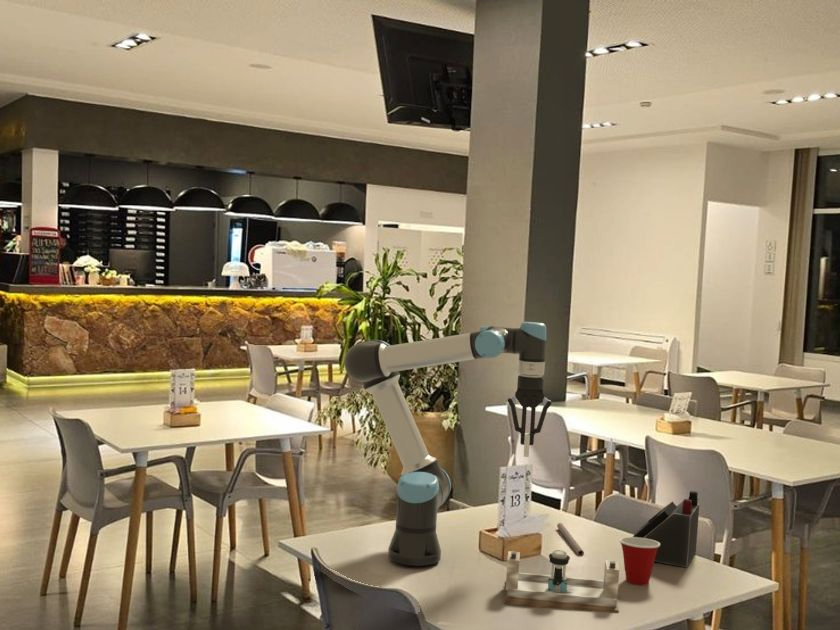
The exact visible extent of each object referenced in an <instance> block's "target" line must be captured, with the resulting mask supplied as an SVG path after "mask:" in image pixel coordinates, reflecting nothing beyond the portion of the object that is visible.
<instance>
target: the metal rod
mask: <svg viewBox="0 0 840 630" xmlns="http://www.w3.org/2000/svg"><path fill="white" fill-rule="evenodd" d="M556 526H557V529H558V530H559V531H560V533H561V534H562V535H563V537H564V538H565V539H566V541H567V542H568V544H569V545H570V547H571V548H572V549H573V551H575V553H576V554H577V556H580V555H581V556H584V555H585V551H584V550H583V548H582V547H581V546H580V545H579V543H578V542H577V541H576V540H575V538H574V537H573V535H572V534H570V532H569V531H568V530H567V528H566V527H565V526H564V524H563V523H562V522H559V523H557V524H556Z"/></svg>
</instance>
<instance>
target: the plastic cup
mask: <svg viewBox="0 0 840 630" xmlns="http://www.w3.org/2000/svg"><path fill="white" fill-rule="evenodd" d="M619 543H620V545H621V549H622V553H623V565H624V567H623V568H624V571H625V580H626V582H627V583H629V584H631V585H637V586H645V585H646V586H647V585H648V584H649V583H650V579H651V576H652V571H653V569H654V563H655V561H654V560H655V556H656V553H657V550H658V548H659V547H660V543H659V542H657V541H654V540H651V539H646V538H639V537H633V536H627V537H626V536H625V537H621V538H619Z"/></svg>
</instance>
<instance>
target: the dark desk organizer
mask: <svg viewBox="0 0 840 630" xmlns="http://www.w3.org/2000/svg"><path fill="white" fill-rule="evenodd" d="M698 493H699V492H697V491H693V490H692V491H691V490H690V491H689V494H688V495H689V496H688V498H687V499H686V498H684V499H683V501H681V502H680V503H679V504H677V505H676V503H674V501H671V502H669V503H668V504H667V505H666V506H664V507H663V508H662V509H661V510H659V511H658V512H657V513H656V514H655V515H654V516H652V517H651V518H649V520H647V522H645V524H643V525H642V526H640V527H639V529H638V530H637V531H636V532H635V534H633V536H632V537H639V538H646V539H651V540H654V541H657V542H659V543H660V547H659V548H658V550H657V553H656V556H655V560H654V562H658V563H663V564H667V565H674V566H678V567H685V568H688V567H689V565H690V563H691V561H692V560H693V558H694V556H695V554H696V553H697V542H698V528H699V518H700V517H699V516H700V503H698V501H699V498H698Z"/></svg>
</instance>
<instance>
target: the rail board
mask: <svg viewBox="0 0 840 630" xmlns="http://www.w3.org/2000/svg"><path fill="white" fill-rule="evenodd" d="M507 553H508V554H507V560H506V576H505V577H506V578H505V594H504V604H505V605H512V606H513V605H514V606H521V607H522V606H523V607H524V606H525V607H532V608H533V607H535V608H549V609H563V610H564V609H565V610H574V611H575V610H577V611H589V612H590V611H593V612H594V611H595V612H606V613H607V612H608V613H619V611H620V609H619V605H618V595H619V594H618V593H619V583H620V582H619V580H620V578H619V577H620V567H619V563H618V561H617V560H607V559H606V560H604V574H603V580H602V579H591V578H590V579H589V578H580V577H571V576H569V577H568V576H565V578H566V580H567V585H572V586H573V587H567V588H569V589H570V590H567V592H555V591H549V590H548V580H549V578H550V576H551V574H549V575H548V574H539V573H538V574H537V573H529V572H528V573H527V572H520V556H521V552H520V551H512V550H511V551H510V550H508V552H507ZM562 578H563V576H562ZM572 589H573V590H572Z"/></svg>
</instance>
